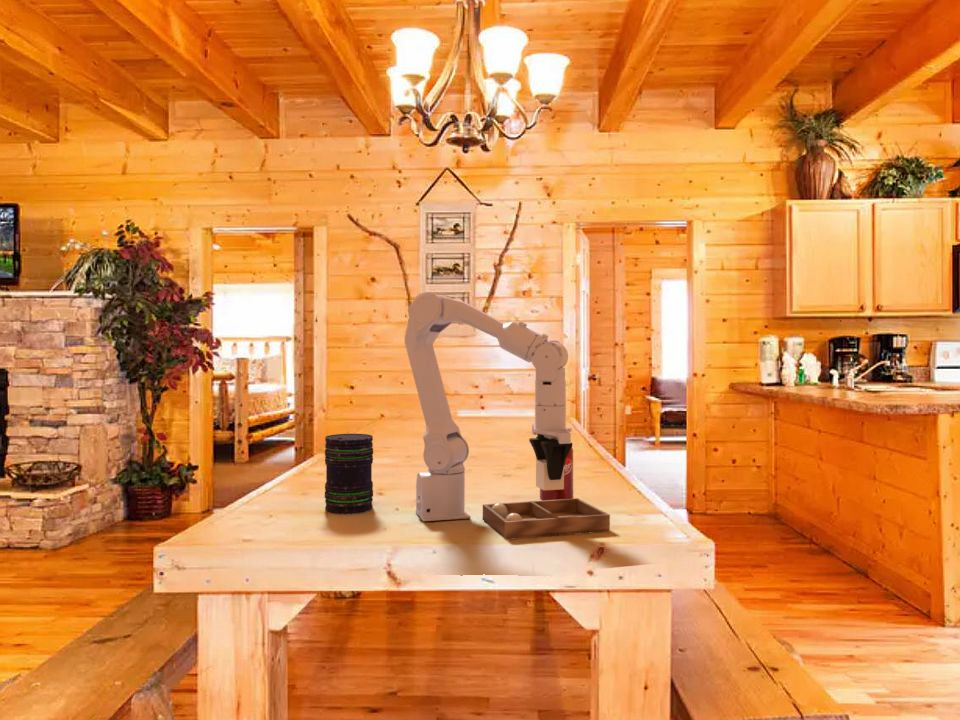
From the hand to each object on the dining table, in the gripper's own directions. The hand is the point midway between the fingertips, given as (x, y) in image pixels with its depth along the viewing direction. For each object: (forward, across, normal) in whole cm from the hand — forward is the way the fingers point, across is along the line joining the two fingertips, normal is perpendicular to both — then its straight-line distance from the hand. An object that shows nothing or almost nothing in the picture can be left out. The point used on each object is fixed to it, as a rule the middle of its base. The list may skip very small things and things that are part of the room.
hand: (550, 477), depth 127 cm
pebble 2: (+8, -4, +9) cm, 13 cm away
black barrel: (+9, +23, +35) cm, 43 cm away
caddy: (+9, 0, +1) cm, 9 cm away
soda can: (+9, +18, -9) cm, 22 cm away
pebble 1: (+8, +4, +9) cm, 13 cm away
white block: (+2, 0, 0) cm, 2 cm away
